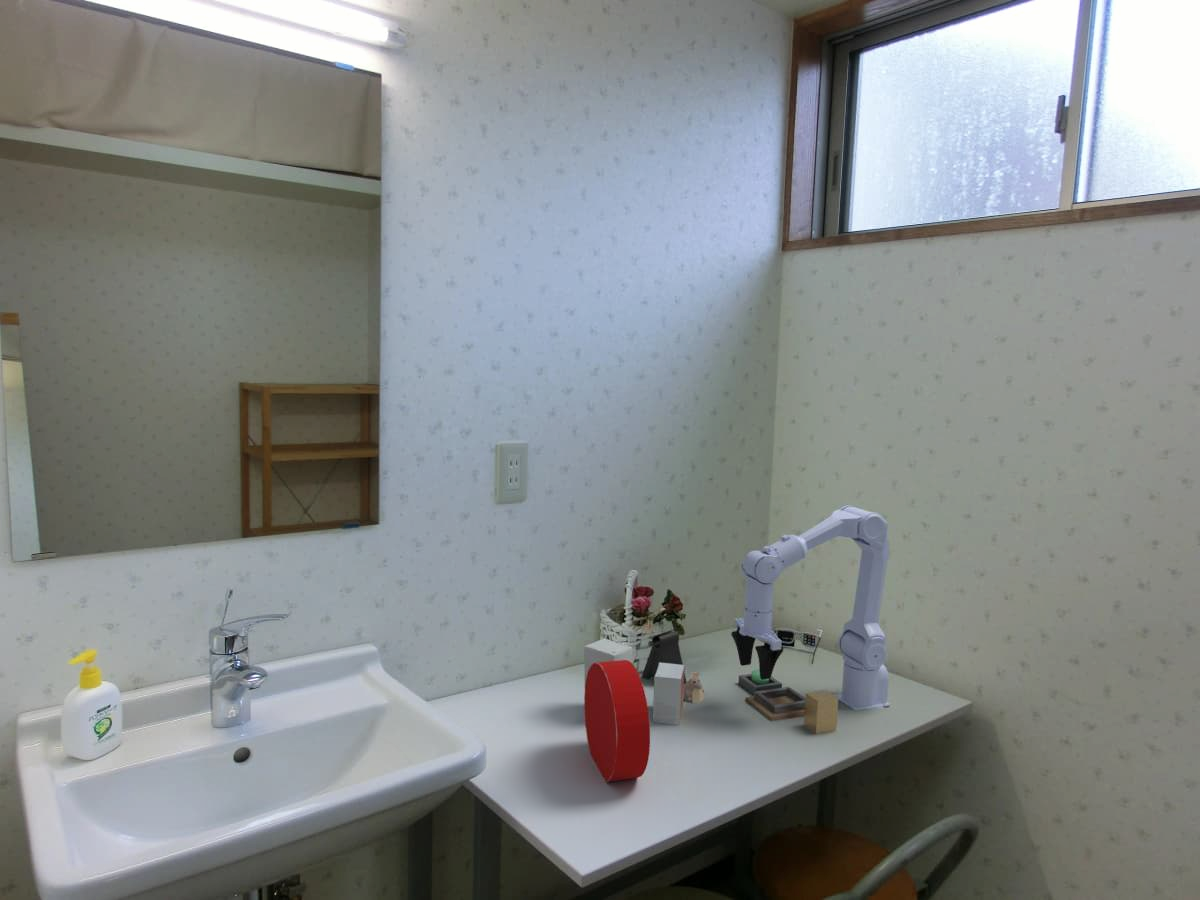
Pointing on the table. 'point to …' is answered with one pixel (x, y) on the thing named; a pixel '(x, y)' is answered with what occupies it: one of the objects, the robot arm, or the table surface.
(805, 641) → the smart glasses
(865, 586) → the robot arm
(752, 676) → the button
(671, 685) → the small box
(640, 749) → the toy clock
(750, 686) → the button housing
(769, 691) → the framed wooden tray
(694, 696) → the mouse figurine
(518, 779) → the table surface
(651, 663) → the phone stand
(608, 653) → the skincare box
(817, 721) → the block
